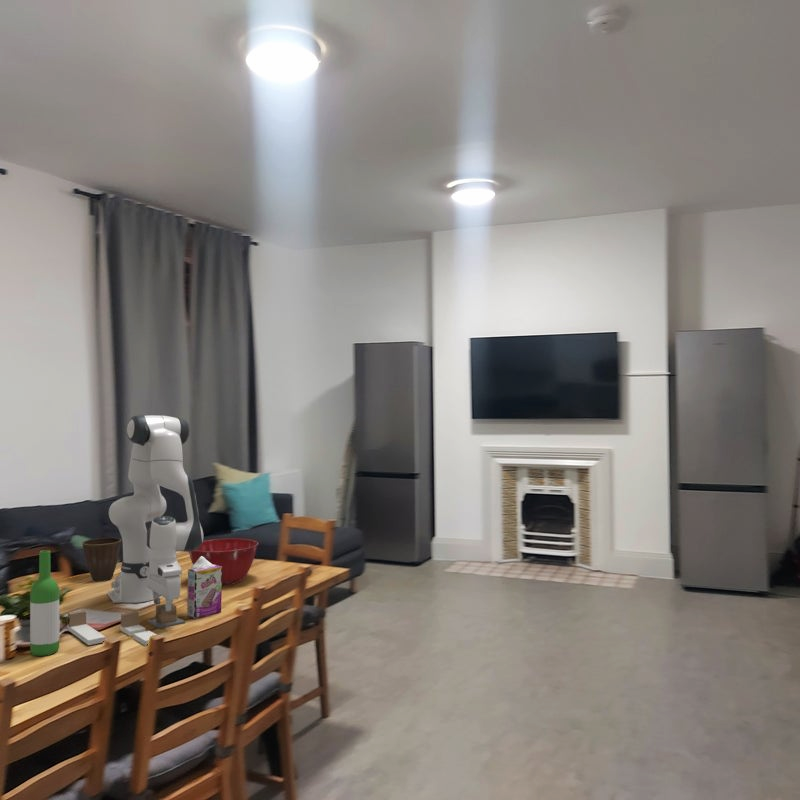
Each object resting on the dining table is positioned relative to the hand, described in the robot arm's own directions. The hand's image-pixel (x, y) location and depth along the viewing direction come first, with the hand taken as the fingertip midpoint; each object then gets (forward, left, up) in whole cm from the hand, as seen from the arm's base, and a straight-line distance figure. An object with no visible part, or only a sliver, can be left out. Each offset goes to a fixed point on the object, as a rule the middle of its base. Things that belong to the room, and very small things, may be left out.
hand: (162, 607), depth 245 cm
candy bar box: (+1, +15, -5) cm, 16 cm away
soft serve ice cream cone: (-19, +24, -5) cm, 31 cm away
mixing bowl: (-37, +42, -6) cm, 56 cm away
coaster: (+1, +1, -5) cm, 5 cm away
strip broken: (+9, -11, -5) cm, 15 cm away
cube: (+1, +1, -5) cm, 5 cm away
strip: (-2, -24, -5) cm, 25 cm away
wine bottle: (+5, -38, -5) cm, 39 cm away
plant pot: (-74, +6, -5) cm, 75 cm away
